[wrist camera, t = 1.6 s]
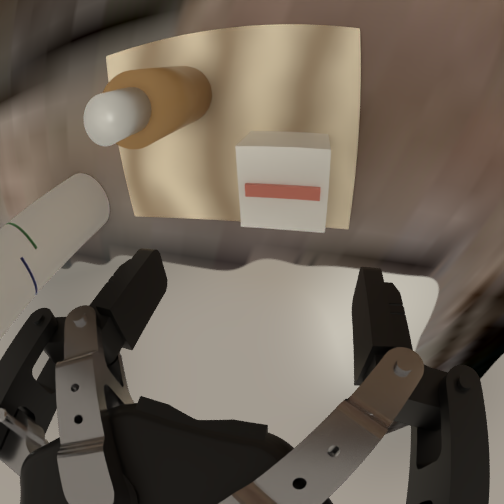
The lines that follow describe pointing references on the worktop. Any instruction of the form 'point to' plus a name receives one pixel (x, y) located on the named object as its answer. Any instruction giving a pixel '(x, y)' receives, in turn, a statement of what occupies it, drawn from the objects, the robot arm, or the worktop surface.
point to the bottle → (147, 106)
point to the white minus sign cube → (284, 180)
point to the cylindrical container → (46, 240)
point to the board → (247, 114)
